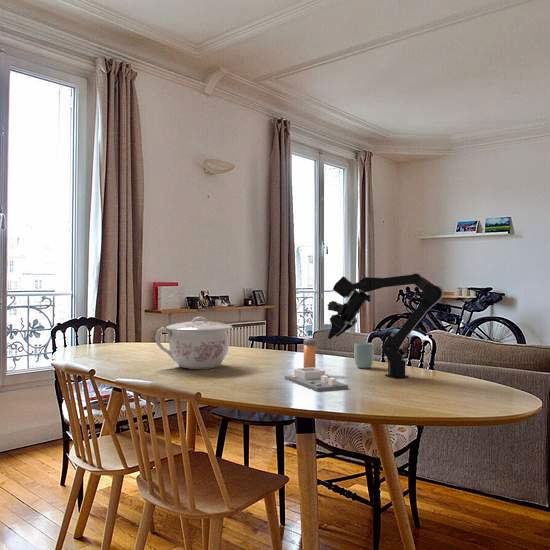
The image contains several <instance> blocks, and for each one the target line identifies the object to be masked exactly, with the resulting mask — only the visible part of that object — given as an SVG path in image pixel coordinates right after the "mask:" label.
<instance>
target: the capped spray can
mask: <svg viewBox="0 0 550 550" xmlns="http://www.w3.org/2000/svg"><path fill="white" fill-rule="evenodd" d="M316 342H317V340H316V339H315V338H314V339H311V338H306V339H303V368H311V367H315V368H317V367H316V363H317V362H316V358H317V355H316V352H317V350H316V348H317V347H316V345H317V344H316Z"/></svg>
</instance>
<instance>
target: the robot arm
mask: <svg viewBox="0 0 550 550" xmlns="http://www.w3.org/2000/svg"><path fill="white" fill-rule="evenodd" d="M409 285H415V286H416V287H417V288H418V289H419V290H420V291H422V292H423V296H422V298H421V299H420V303H419V304H418V306H417V307H416V308H415V309H414V310H413V312H412V313H411V315H409V317H408V318H407V320H406V321H405V322H404V323H403V325H402V326H401V328H400V329H399V330H398V331H397V332H396V333H392V332H391V333H390V334H388V336H387V338H386V340H384V341H383V342H382V353H383V354H384V355H385V356H386V358H387V361H388V363H387V373H385V374H384V376H386V377H388V378H392V379H399V378H400V379H402V378H409V375H408V374H406V358H407V353H406V352H405V350H403V349H402V348H403V347H404V345H405V342H406V339H407V338H408V337H409V336H410V334H411V333H412V331H414V329H415V328H416V326H418V324H419V323H420V321H421V320H422V319H423V317H425V315H426V314H427V312H428V311H430V309H431V308H433V306H435V305H436V304H437V303H438V302H440V301H441V300H442V299H443V298H444V296H445V291H444V289H443V288H442V286H440V285H437V284H436V285H435V284H434V283H431V281H429V280H428V279H426V278H425V277H423V276H422V275H421V274H420V273H413V274H405V275H398V276H397V275H396V276H390V277H377V276H376V277H371V276H369V277H368V276H367V277H366V276H365V277H362V278H361V279H360V280H359V281H357V282H354V283H353V282H352V281H350V280H349V279H348V278H347V277H346V276H341V277H340V279H338V281H337V282H336V283H334V285H333V288H332V290H333V291H334V292H336V293H337V294H338V295H339V296H341V297H343V299H346V298H348V300H347V302H345V303H343V304H342V303H339V302H337V301H334V300H332V301H329V302H328V304H327V310H328V311H332V312H335V313H336V314H332V315H331V316H330V317H329V323H330V325H331V327H330V330H329V332H328V333H329V334H328V336H327V339H329V340H331V339H333V338H334V337H339V336H341V335H342V334H344V333H345V332H347V331H348V330H350V329H352V328H353V327H354V326H356V324H357V322H358V318H357V315H358V314H359V313H360V312H361V311H360V310H361V308H362V307H363V306H364V305H365V303H366V302H368V303H371V302H373V299H372V294H366V293H370V292H374V291H378V290H381V289H384V288H390V287H399V286H409ZM359 290H360V291H359Z"/></svg>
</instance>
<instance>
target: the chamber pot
mask: <svg viewBox="0 0 550 550" xmlns="http://www.w3.org/2000/svg"><path fill="white" fill-rule="evenodd" d="M232 328H234V326H233V325H231V324H227V323H222V322H219V321H218V322H217V321H216V322H215V321H208V320H207V318H205V317H204V316H196V317H194V318H193V319H192V320H191V321H184V322H177V323H173V324H169V325H167V326H165V327H164V326H162V327H160V328H159V329H158V330H157V331H156V333H155V335H154V337H155V338H154V340H155V341H154V342H155V343H156V345H157V346H158V348H159V349H160V350H162V351H163V352H165V353H166V354H167V355H168V356H169V357H170V358H171V359H172V360H173V361H174V362H175V363H176V364H177V365H178V366H179V367H180V368H183V369H185V368H188V369H187V370H193V369H203V370H208V369H207V368H211V369H214V368H217V367H219V366H220V365H222V363H223V361H224V360H225V358H226V356H227V355H228V351H229V348H230V337H229V335H228V333H227V332H228V331H229V330H231V329H232ZM161 333H166V334H167V335H168V336H167V340H168V346H169V349H167V348H166V347H164V345H163V344H162V343H161V341H160V335H161Z"/></svg>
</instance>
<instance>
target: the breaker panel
mask: <svg viewBox="0 0 550 550" xmlns="http://www.w3.org/2000/svg"><path fill="white" fill-rule="evenodd" d="M293 370H294V371H293V374H288V375H284V380H286V381H288V380H289V382H291V381H292V382H291V383H294V384H297V385H299V386H301V387H304V388H307V389H309V390H311V389H312V391H314V392H316V391H317V392H327V391H329V392H330V391H340V390H348V389H349V384H347V383H346V384H345V383H343V382H340V381H337V379H336V378H334V377H329V376H327V375H326V370H324V369H320V368H317V367H316V368H315V367H311V368H304V367H300V368H297V367H296V368H294V369H293Z"/></svg>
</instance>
